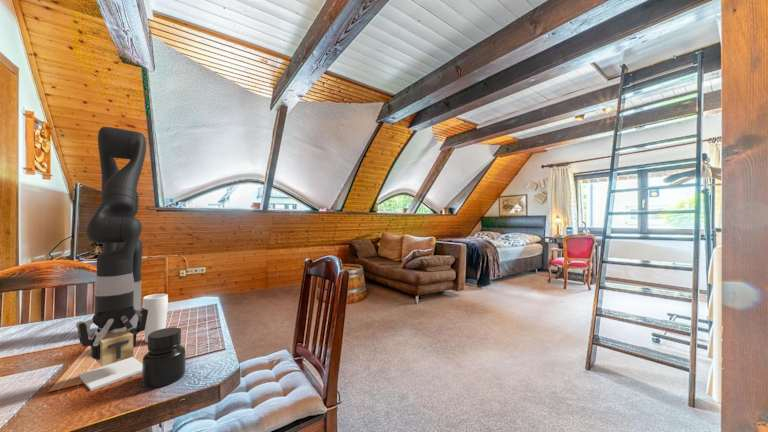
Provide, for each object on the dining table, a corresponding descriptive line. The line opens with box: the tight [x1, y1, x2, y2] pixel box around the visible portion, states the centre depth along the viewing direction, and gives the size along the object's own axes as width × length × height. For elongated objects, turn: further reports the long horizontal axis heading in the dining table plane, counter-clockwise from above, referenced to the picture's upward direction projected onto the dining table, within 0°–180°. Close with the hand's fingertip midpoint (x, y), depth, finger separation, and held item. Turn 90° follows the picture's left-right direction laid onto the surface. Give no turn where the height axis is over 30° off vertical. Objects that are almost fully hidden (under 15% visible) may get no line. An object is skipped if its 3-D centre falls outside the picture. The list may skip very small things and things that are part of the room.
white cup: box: [141, 293, 169, 344], centre depth 95 cm, size 7×7×15 cm
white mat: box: [78, 356, 142, 392], centre depth 75 cm, size 11×11×1 cm
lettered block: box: [95, 330, 134, 367], centre depth 75 cm, size 6×7×6 cm
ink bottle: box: [141, 326, 186, 389], centre depth 73 cm, size 10×9×12 cm
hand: (114, 353), depth 75 cm, fingers closed on lettered block, 6 cm apart
